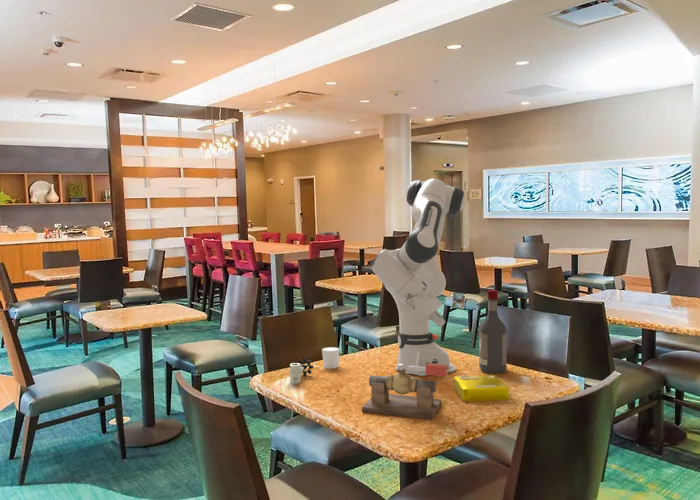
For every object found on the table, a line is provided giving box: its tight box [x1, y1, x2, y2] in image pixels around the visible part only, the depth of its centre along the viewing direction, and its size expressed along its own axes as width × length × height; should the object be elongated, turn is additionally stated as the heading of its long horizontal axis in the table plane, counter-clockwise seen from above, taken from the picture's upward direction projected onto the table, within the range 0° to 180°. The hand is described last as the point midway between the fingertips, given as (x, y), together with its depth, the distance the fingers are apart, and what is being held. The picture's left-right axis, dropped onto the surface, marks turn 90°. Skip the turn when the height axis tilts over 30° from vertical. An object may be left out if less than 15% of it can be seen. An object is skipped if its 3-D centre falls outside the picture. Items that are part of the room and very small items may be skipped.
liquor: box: [478, 289, 508, 374], centre depth 207 cm, size 9×9×30 cm
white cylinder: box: [321, 346, 341, 370], centre depth 215 cm, size 7×7×7 cm
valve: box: [288, 357, 314, 385], centre depth 198 cm, size 7×7×12 cm
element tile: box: [453, 374, 510, 403], centre depth 180 cm, size 15×15×5 cm
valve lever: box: [396, 363, 449, 377], centre depth 164 cm, size 15×3×3 cm, turn 69°
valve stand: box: [361, 371, 443, 421], centre depth 167 cm, size 14×21×11 cm, turn 70°
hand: (443, 324), depth 170 cm, fingers closed
